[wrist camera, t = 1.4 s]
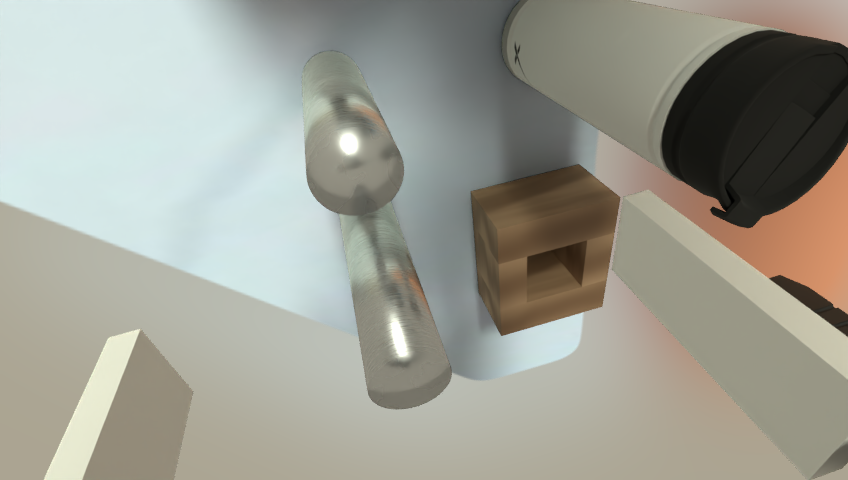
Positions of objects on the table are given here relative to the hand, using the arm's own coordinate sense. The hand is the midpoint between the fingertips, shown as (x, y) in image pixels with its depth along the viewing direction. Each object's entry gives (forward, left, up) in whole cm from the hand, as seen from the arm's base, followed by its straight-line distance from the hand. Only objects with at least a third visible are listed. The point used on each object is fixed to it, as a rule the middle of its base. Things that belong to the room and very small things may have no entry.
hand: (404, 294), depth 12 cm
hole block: (+17, +14, -22) cm, 30 cm away
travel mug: (0, +15, -22) cm, 26 cm away
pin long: (+9, 0, -22) cm, 23 cm away
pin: (0, 0, -22) cm, 22 cm away
